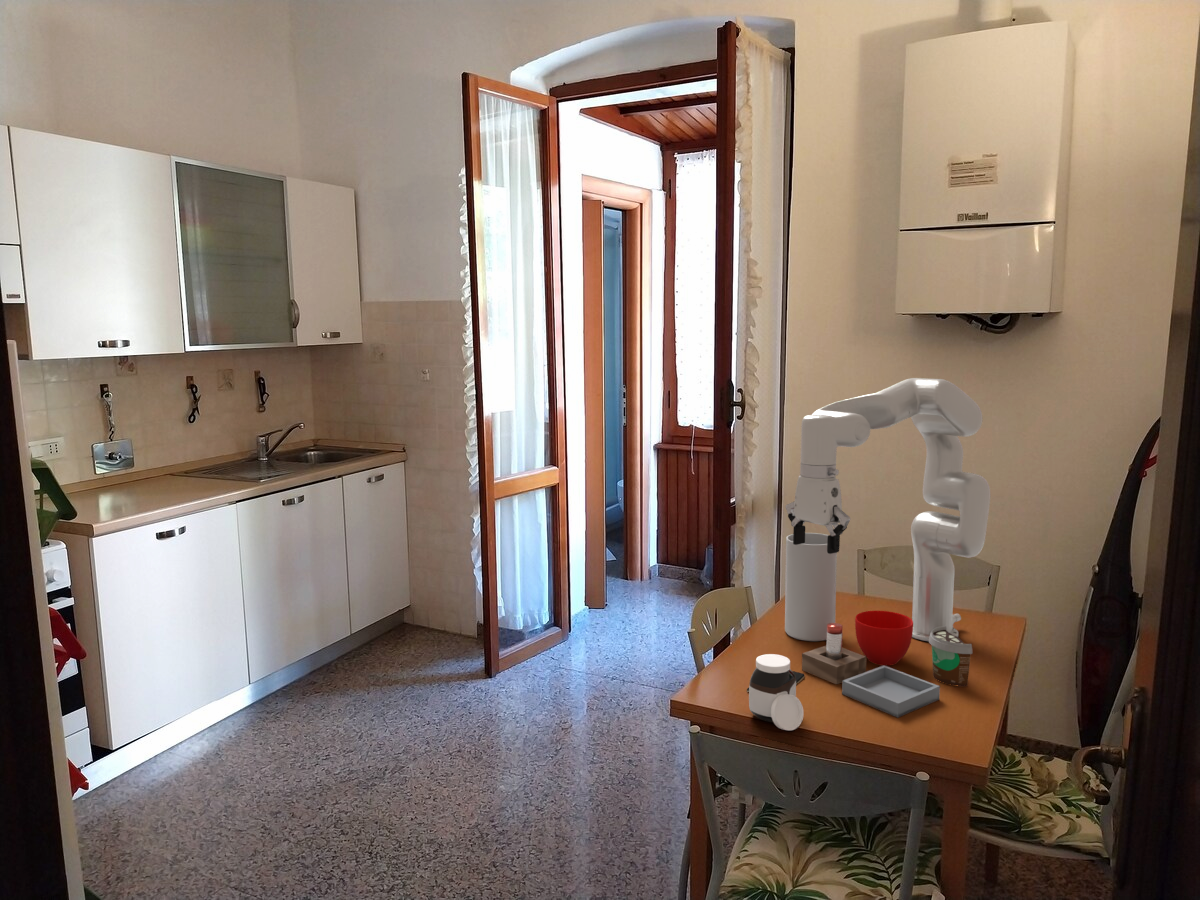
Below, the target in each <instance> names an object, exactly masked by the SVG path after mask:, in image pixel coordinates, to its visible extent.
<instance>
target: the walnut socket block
mask: <svg viewBox="0 0 1200 900" xmlns="http://www.w3.org/2000/svg"><path fill="white" fill-rule="evenodd" d="M826 649H827V644H826V645H824V646H820V647H817V648H814V649H812V650H809V651H808V650H807V651H805V652H802V653H801V655H802V656H801V670H802V671H803V672H805V673H808V674H811V675H813V676H815V677H817V678H820V679H822V680H825V681H827V682H830V683H831V684H834V685H839V684H842V681H843V680H846V679H848V678H851V677H854V676H857V675H859V674H862V673H865V672H867V657H866V656H865V655H864V654H860V653H858V652H855V651H853V650H849V649H848V648H844V647H842V659H839V660H836V661H835V660H832V659H830V658H827V657H826Z"/></svg>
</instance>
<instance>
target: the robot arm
mask: <svg viewBox="0 0 1200 900" xmlns="http://www.w3.org/2000/svg"><path fill="white" fill-rule="evenodd" d="M910 418H911V421H912V424H913V425H914V427H915V428H916V430H917V431H918V432H919V433H920V435H921V436H922V439H923V441H924V444H925V449H926V458H925V467H924V472H923V473H924V474H923V480H922V481H923V482H922V497H923V500H924V501H925V502H926V503H927V504H929V505H931V506H933V507H938V508H943V509H947V510H954V511H959V515H954V514H949V513H944V512H940V511H934V510H933V511H930V510H929V511H923V512H920V513H918V514H917V515H916V516H915V517H914V518H913V520H912V522H911V526H910V533H911V534H910V535H911V540H912V541H911V543H912V546H913V558H914V559H913V584H912V585H913V587H912V588H913V591H912V613H911V614H912V616H911V619H912V621H913V633H912V639H913V638H914V639H916V640H920V641H923V642H929V637H930V634H931V632H932V630H933V629H935V628H937V627H942V626H946V628H947V631H948V632H949V633H951V634H952V635H955V636H957V637H958V638H959V631H958V630H957V629H956V628H954V624H955V623H957V622H960V621H961V620H962V617H961V614H959V613H953V610H954V608H953V607H954V589H955V587H954V585H955V584H954V583H955V564H954V561H953V558H952V556H951V555H953V556H958V557H961V558H962V557H963V558H974V557H976V556H979V554H981V552H982V549H983V547H984V545H985V542H986V537H987V536H986V535H987V528H988V521H989V513H990V505H991V487H990V485H989V482H988V480H987V479H986V478H985V477H983V476H982V475H980V474H977V473H973V472H967V471H963V463H964V462H963V460H964V447H963V445H962V443H961V440H960V438H959V437H966V438H967V437H970V436H973V435H975V434H977V432H979V430H980V429H981V427H982V425H983V413H982V410H981V408H980V406H979V404H978V403H977V402H976V401H975V400H974V399H973V398H972V397H970V395H969V394H967V393H966V392H965V391H964V390H962V389H961V388H960V387H959V386H957V385H956V384H955V383H953V382H951V381H949V380H946V379H943V378H927V377H925V378H923V377H910V378H906V379H904V380H901V381H899V382H897V383H895V384H893V385H890V386H889V387H886V388H884V389H882V390H879V391H877V392H875V393H869V394H864V395H860V396H855V397H851V398H847V399H843V400H839V401H835V402H833V403H830V404H827V405H824V406H823V407H820V408H818V409H816V410H815V411H814V412H812V414H807V415H805V416H804V417H803V418H802V420H801V426H800V427H801V428H800V429H801V430H800V433H801V434H800V437H801V438H800V464H799V465H800V467H799V468H800V469H799V473H800V474H799V475H798V478H797V481H796V487H795V493H794V501H792V502H789V503H788V504H786V505H785V510H786V513H787V514H788V515H787V518H788V519H789V521H790V524H791V527H792V528H793V530H792V534H793V544H794V545H798V544H803V543H805V533H806V525H804V524H805V523H810V524H815V525H819V526H825V528H826V530H827V531H828V533H829V534H827V535H828V539H827V553H829V554H832V553H837V554H838V553H839V552H840V546H841V545H840V544H841V543H840V542H841V541H840V539H841V538H840V537H841V536H842V535H843V534H844V533H843V532H844V531H846V530H847V528H848V525H849V523H850V521H851V517H850V516H849V515H848V514H847V513H846V512H844V511H843V504H842V503H843V501H842V500H843V499H842V492H841V491H842V490H841V484H840V481H839V478H836V476H838V475H839V474H840V471H839V469H838V468H837V448H838V447H843V448H845V447H846V448H856V447H859V446H861V445H863V444H865V443H866V441H867V440H868V439H869V437H870V435H871V430H880V429H887V428H891V427H894V426H896V425H897V424H899V423H901V422H903V421H905V420H907V419H910Z"/></svg>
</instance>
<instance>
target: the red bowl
mask: <svg viewBox="0 0 1200 900" xmlns="http://www.w3.org/2000/svg"><path fill="white" fill-rule="evenodd" d="M854 622H855V623H854V626H855V628H854V629H855V637H856V641H857V645H858V646H859V649H860V650H861V652H862V655H863V656H866V659H867V660H868V661H869V662H871V663H873V665H874V664H875V665H877V666H878V665H879V666H883V665H884V666H894V665H896V664H898V662H899V661H901V659H903V657H905V655H906V654H907V652H908V650H909V648H910V645H911V643H912V639H913V637H912V633H913V621H912V617H909V616H907V615H905V614H902V613H899V612H894V611H889V610H887V611H886V610H866V611H862V612H859V613H858V614H856V615H855V618H854Z"/></svg>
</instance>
